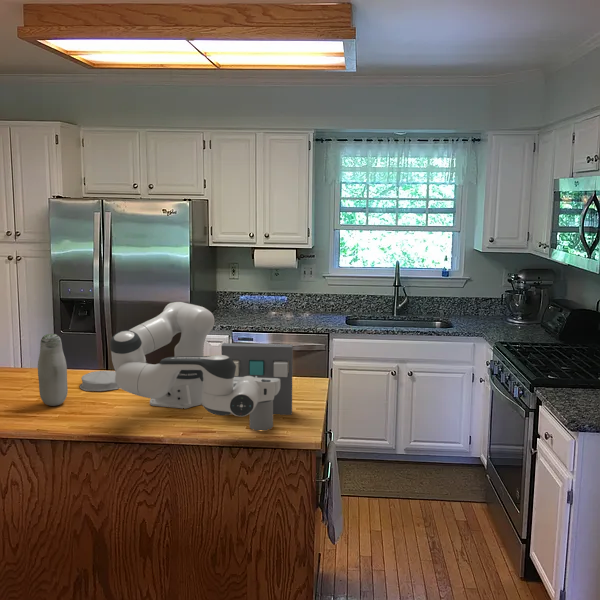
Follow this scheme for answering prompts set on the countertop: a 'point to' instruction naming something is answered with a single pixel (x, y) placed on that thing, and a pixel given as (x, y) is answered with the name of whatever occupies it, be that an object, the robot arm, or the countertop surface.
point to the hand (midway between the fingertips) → (253, 378)
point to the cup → (262, 416)
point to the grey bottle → (52, 371)
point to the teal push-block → (256, 367)
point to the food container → (99, 381)
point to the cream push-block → (237, 367)
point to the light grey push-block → (280, 368)
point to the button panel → (266, 368)
